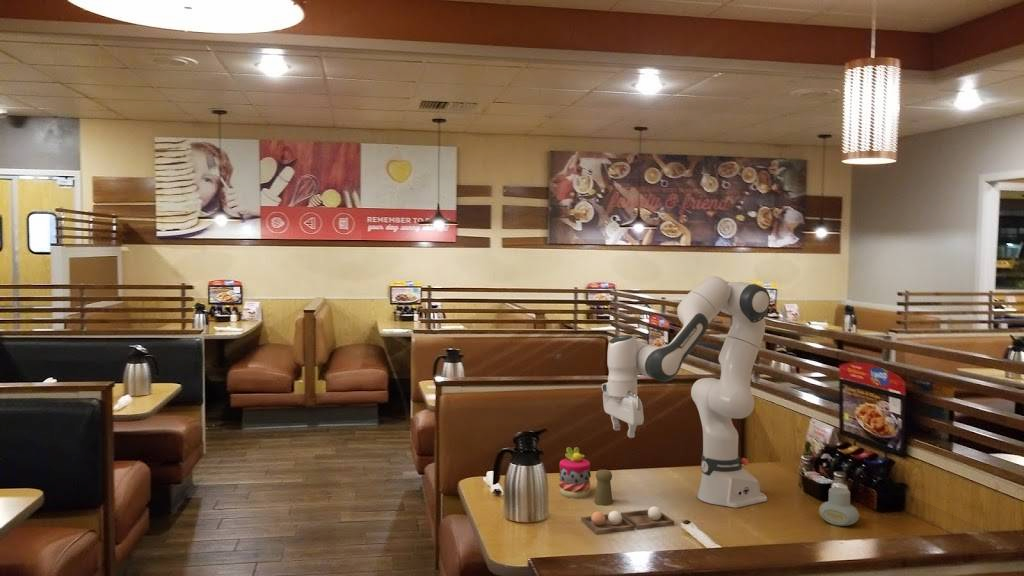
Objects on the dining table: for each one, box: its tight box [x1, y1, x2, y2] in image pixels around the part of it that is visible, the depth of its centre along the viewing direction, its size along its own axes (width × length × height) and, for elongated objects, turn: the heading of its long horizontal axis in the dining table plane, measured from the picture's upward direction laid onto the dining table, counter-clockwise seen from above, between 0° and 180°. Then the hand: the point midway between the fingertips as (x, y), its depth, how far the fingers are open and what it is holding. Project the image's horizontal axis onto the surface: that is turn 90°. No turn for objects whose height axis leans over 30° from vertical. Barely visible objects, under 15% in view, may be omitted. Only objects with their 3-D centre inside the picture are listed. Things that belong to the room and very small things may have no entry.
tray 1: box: [580, 513, 635, 536], centre depth 212 cm, size 12×11×2 cm
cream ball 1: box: [608, 510, 622, 525], centre depth 213 cm, size 4×4×4 cm
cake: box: [558, 446, 592, 500], centre depth 242 cm, size 10×11×15 cm
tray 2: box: [619, 508, 675, 531], centre depth 216 cm, size 12×11×2 cm
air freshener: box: [818, 486, 860, 527], centre depth 217 cm, size 11×8×10 cm
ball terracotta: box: [591, 510, 605, 526], centre depth 212 cm, size 4×4×4 cm
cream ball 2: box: [647, 506, 662, 520], centre depth 217 cm, size 4×4×4 cm
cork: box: [593, 469, 614, 507], centre depth 232 cm, size 6×6×11 cm
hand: (623, 433), depth 222 cm, fingers open, 8 cm apart
